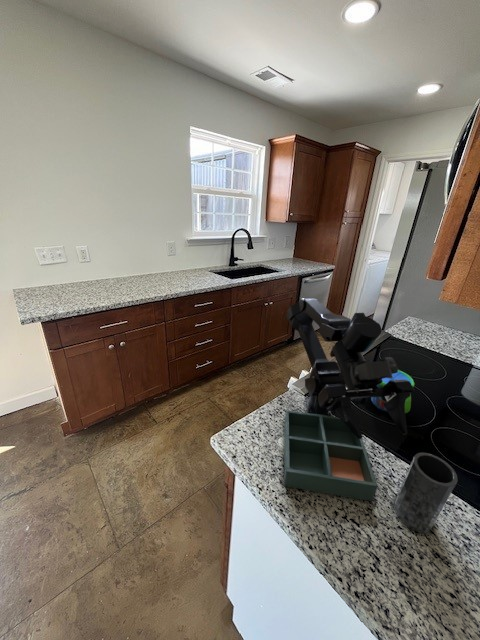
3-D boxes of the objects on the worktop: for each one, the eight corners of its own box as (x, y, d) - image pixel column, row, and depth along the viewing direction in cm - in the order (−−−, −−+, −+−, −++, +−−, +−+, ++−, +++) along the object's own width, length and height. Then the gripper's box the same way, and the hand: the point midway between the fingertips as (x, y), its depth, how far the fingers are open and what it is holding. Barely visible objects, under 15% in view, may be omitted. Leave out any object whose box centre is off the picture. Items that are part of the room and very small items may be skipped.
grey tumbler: (389, 494, 55) (407, 450, 50) (422, 500, 54) (444, 455, 49) (401, 529, 49) (423, 482, 44) (439, 536, 48) (466, 489, 43)
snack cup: (357, 387, 87) (363, 361, 83) (389, 388, 87) (397, 362, 83) (378, 423, 73) (387, 394, 69) (417, 425, 73) (428, 395, 68)
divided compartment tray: (284, 423, 72) (286, 410, 70) (352, 432, 69) (356, 419, 68) (284, 486, 56) (286, 471, 54) (372, 501, 53) (377, 486, 52)
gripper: (324, 345, 52) (355, 426, 42) (410, 341, 55) (457, 417, 45) (308, 372, 61) (330, 445, 51) (382, 368, 63) (417, 436, 53)
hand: (383, 436), depth 50 cm, fingers open, 9 cm apart
